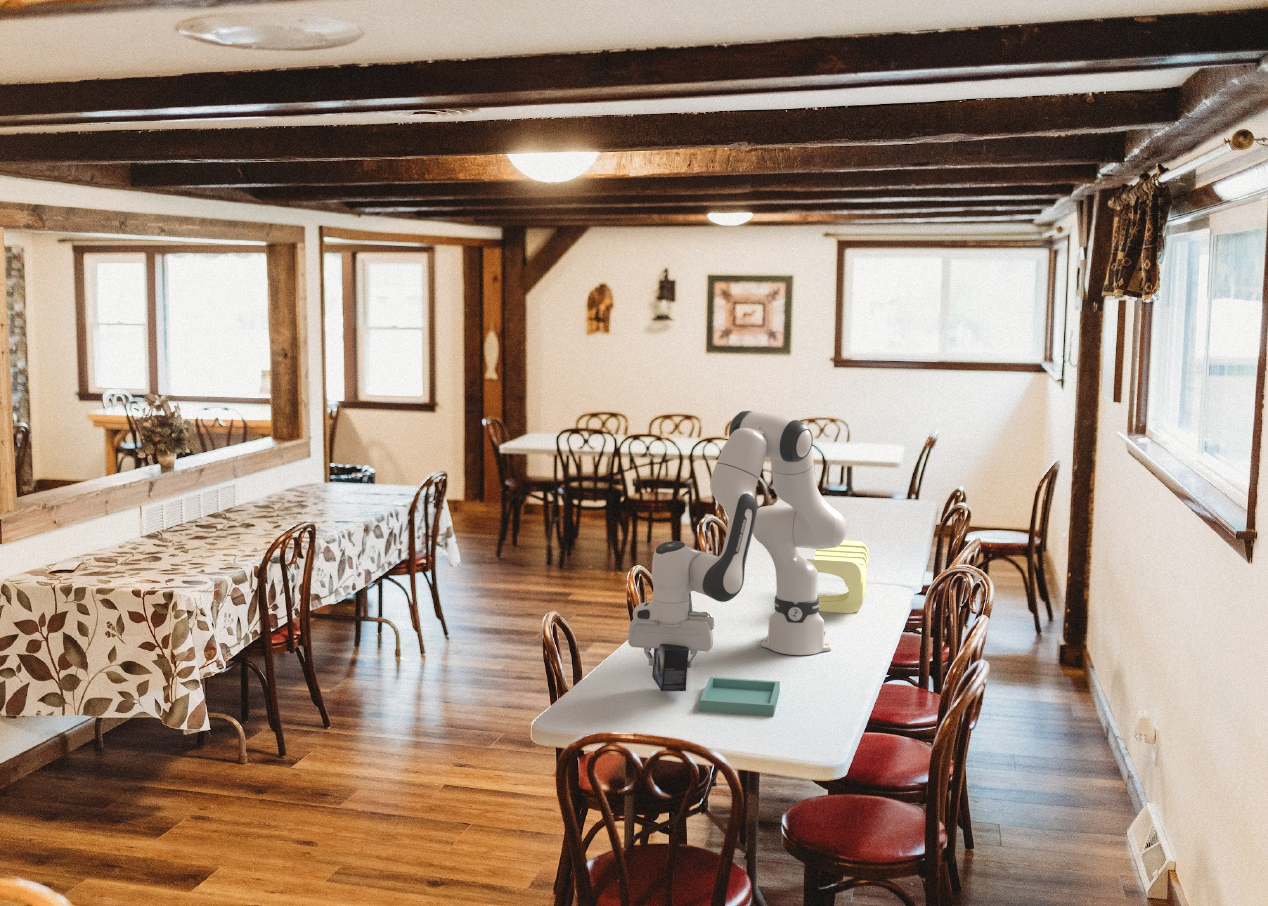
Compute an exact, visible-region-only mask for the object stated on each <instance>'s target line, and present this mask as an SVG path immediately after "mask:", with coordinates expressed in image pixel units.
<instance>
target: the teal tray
mask: <svg viewBox="0 0 1268 906" xmlns="http://www.w3.org/2000/svg"><path fill="white" fill-rule="evenodd" d="M780 683H781V681H778V680H776V681H775V680H764V679H763V680H762V679H760V680H759V679H748V678H747V679H746V678H745V679H744V678H734V677H733V678H732V677H717V676H710V677H709V678H708V681H707V682H706V685H705V687H704V689H703V691H702V694H701V697H700V698H699V712H706V713H707V712H710V713H721V714H722V713H723V714H734V715H736V714H737V715H748V716H749V715H750V716H764V717H774V716H775V712H776V708H777V705H778V704H777V703H778V701H779V696H780V692H781V689H780V688H781V687H780V686H781V684H780Z"/></svg>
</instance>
